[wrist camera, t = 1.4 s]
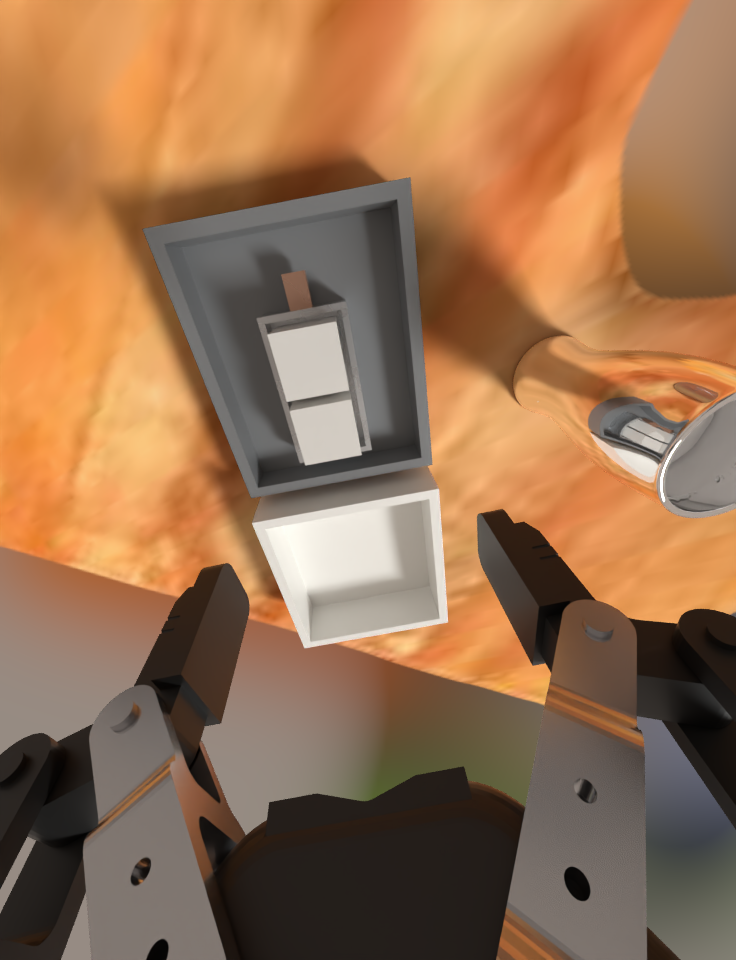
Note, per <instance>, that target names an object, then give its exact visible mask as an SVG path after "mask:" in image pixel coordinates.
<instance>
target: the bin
mask: <svg viewBox="0 0 736 960" xmlns="http://www.w3.org/2000/svg"><path fill="white" fill-rule="evenodd" d="M252 525H253V527H254V529H255V532H256V534H257V537H258V539H259V541H260V544H261V546H262V548H263V551H264V553H265V555H266V558H267V560H268V563H269V565H270V567H271V570H272V572H273V574H274V577H275V579H276V582H277V584H278V586H279V589H280V591H281V593H282V596H283V598H284V600H285V603H286V605H287V608H288V610H289V612H290V615H291V617H292V619H293V622H294V624H295V627H296V629H297V631H298V634H299V636H300V638H301V641H302V643H303V645H304V648H309V647H314V646H320V645H325V644H331V643H337V642H342V641H348V640H353V639H359V638H364V637H370V636H375V635H381V634H386V633H392V632H397V631H403V630H409V629H414V628H420V627H425V626H431V625H436V624H442V623H447V622H448V614H447V600H446V585H445V571H444V556H443V541H442V527H441V512H440V498H439V488H438V486H437V484H436V482H435V480H434V478H433V476H432V474H431V472H430V470H429V468H428V466H423V467H418V468H413V469H407V470H402V471H396V472H391V473H385V474H380V475H375V476H369V477H364V478H358V479H353V480H348V481H342V482H337V483H331V484H326V485H320V486H315V487H310V488H304V489H299V490H293V491H288V492H283V493H277V494H272V495H266V496H261V498H260V501H259V504H258V507H257V509H256V512H255V515H254V518H253V521H252Z"/></svg>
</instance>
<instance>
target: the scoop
mask: <svg viewBox="0 0 736 960" xmlns="http://www.w3.org/2000/svg"><path fill="white" fill-rule="evenodd" d="M281 276H282V280H283V284H284V288H285V292H286V296H287V300H288V304H289V308H290V310H287V311H281V312H276V313H271V314H266V315H262V316H260V317H258V318H256V319H257V322H258V325H259V329H260V332H261V335H262V339H263V342H264V345H265V349H266V352H267V355H268V359H269V362H270V365H271V369H272V372H273V375H274V379H275V382H276V385H277V389H278V392H279V395H280V399H281V402H282V405H283V409H284V412H285V415H286V419H287V422H288V426H289V429H290V432H291V436H292V439H293V442H294V446H295V449H296V452H297V456H298V459H299V462H300V463H304V459H303V456H302V452H301V449H300V445H299V442H298V439H297V435H296V432H295V428H294V425H293V421H292V418H291V415H290V408H291V405H292V402H293V401H289V402H287V401H286V397H285V394H284V390H283V387H282V384H281V380H280V377H279V373H278V370H277V366H276V363H275V360H274V356H273V353H272V349H271V346H270V342H269V339H268V335H267V334H268V333H270V332H271V331H272V330H273V329H275V328H276V327H277V326H282V325H288V324H293V323H298V322H303V321H309V320H314V319H319V318H325V317H330V316H335V315H336V319H337V324H338V329H339V334H340V340H341V345H342V350H343V355H344V361H345V366H346V371H347V377H348V383H349V387H350V392H351V397H352V402H353V408H354V413H355V418H356V423H357V429H358V434H359V440H360V447H361V452H363V451H368V450H372V447H371V442H370V436H369V430H368V424H367V419H366V413H365V407H364V401H363V396H362V390H361V384H360V378H359V373H358V367H357V361H356V355H355V350H354V344H353V338H352V332H351V327H350V321H349V315H348V309H347V304H346V300H339V301H334V302H329V303H324V304H318V305H313V302H312V298H311V293H310V288H309V284H308V279H307V275H306V270H302V271H297V272H292V273H286V274H281Z"/></svg>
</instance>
